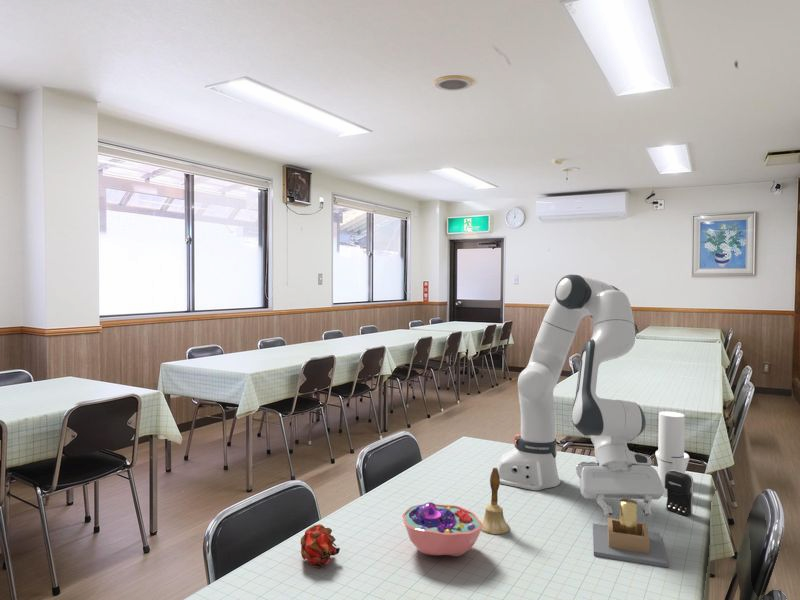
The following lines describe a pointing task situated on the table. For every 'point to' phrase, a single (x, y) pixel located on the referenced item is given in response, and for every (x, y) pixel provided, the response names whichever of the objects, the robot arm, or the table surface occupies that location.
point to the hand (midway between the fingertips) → (628, 514)
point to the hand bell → (494, 510)
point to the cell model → (441, 528)
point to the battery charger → (679, 492)
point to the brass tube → (628, 517)
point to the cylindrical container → (670, 444)
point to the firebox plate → (628, 544)
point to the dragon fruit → (318, 545)
